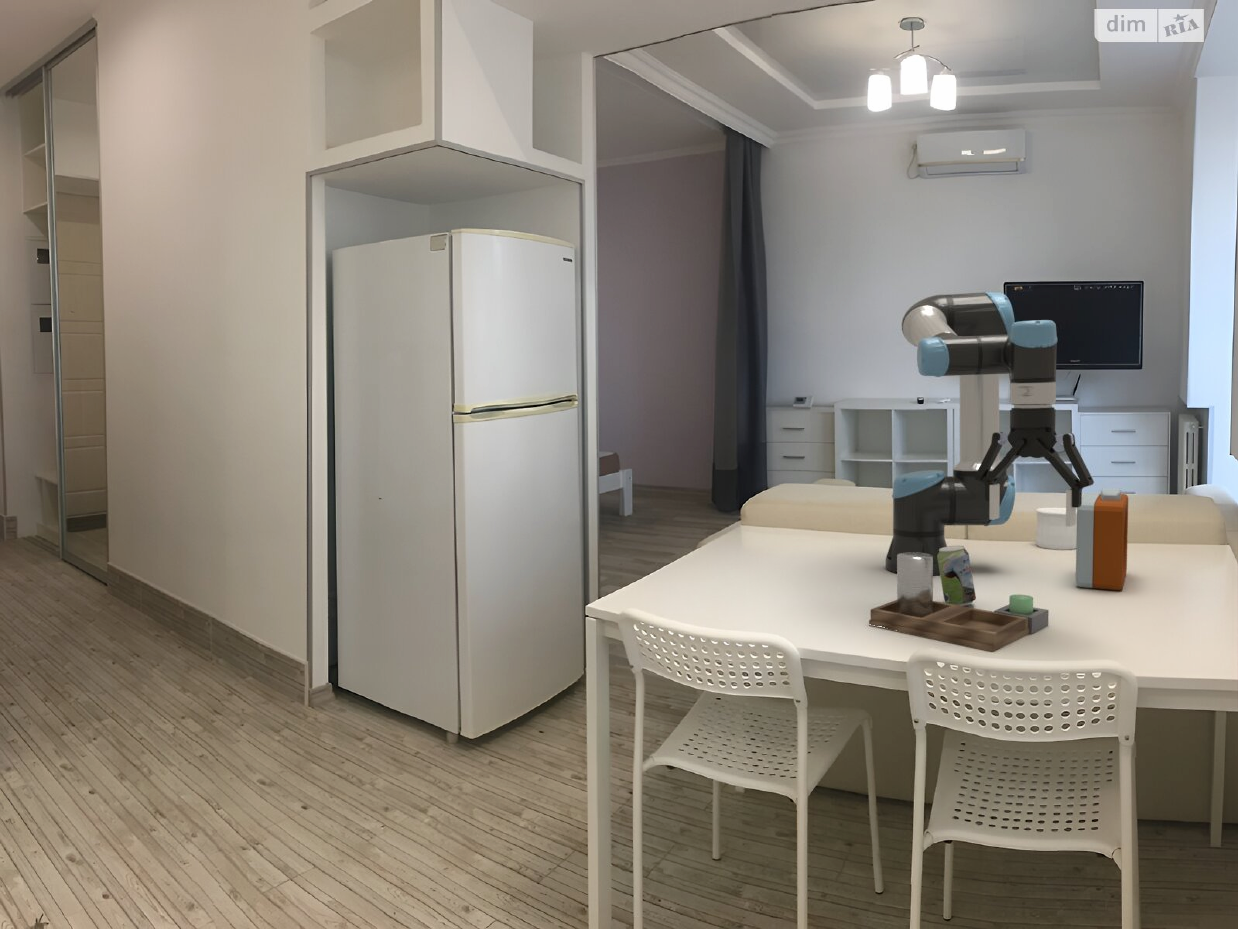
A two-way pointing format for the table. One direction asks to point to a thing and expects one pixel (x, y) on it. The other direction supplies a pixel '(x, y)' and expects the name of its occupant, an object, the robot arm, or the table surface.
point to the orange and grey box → (1102, 540)
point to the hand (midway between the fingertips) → (1031, 522)
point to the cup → (1055, 529)
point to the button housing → (1030, 618)
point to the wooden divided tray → (955, 625)
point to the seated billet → (915, 584)
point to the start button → (1021, 604)
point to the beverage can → (956, 575)
